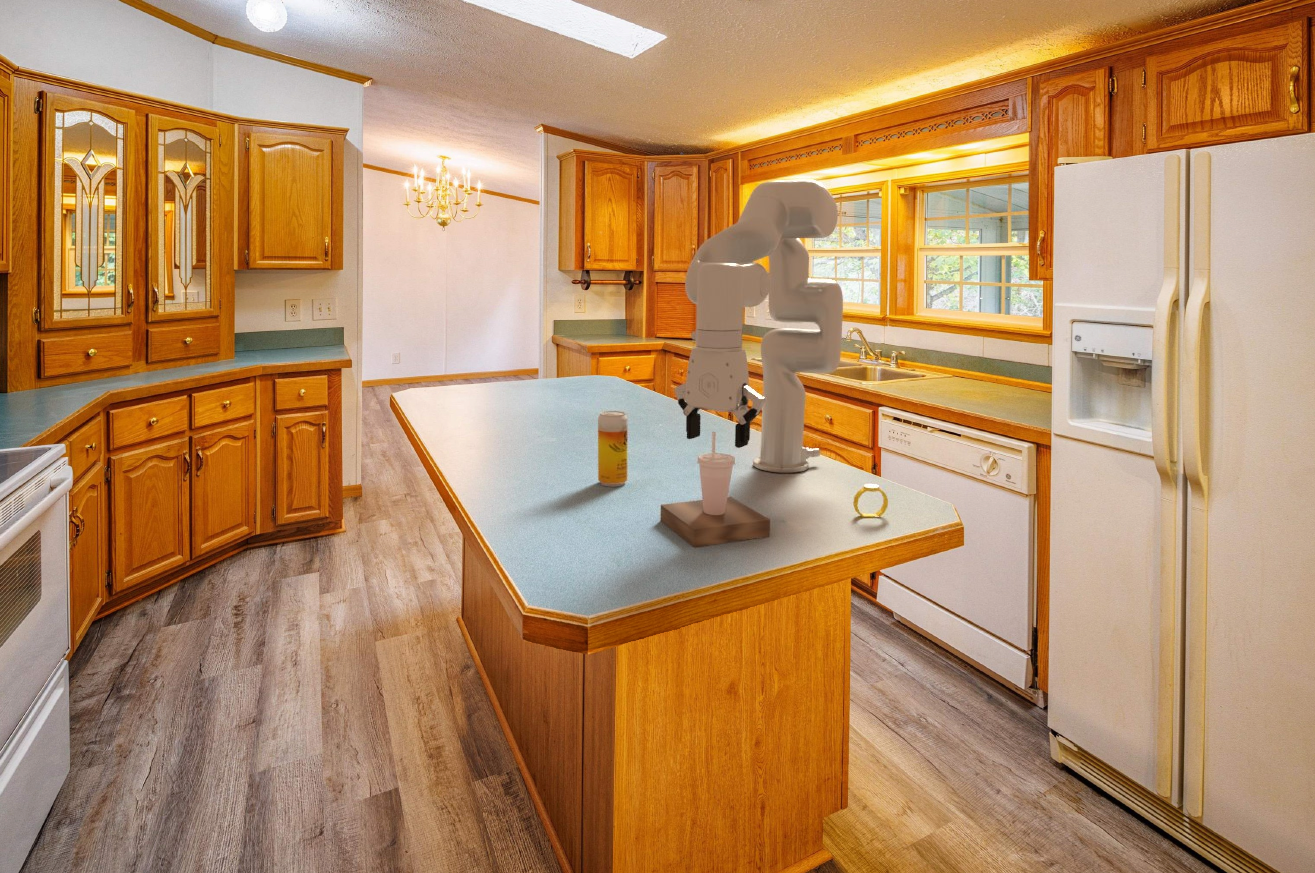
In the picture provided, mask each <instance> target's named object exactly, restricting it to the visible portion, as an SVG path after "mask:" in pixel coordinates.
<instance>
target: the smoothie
mask: <svg viewBox="0 0 1315 873" xmlns="http://www.w3.org/2000/svg"><path fill="white" fill-rule="evenodd" d="M711 433H712V434H711V452H707V453H702V454H699V455H698V456H697V462H696V463H697V464H698V465H699V474H700V475H699V476H700V486H701V487H700V488H701V498H702V499H701V500H703V511H704V513H706V514H709V515H722V514H724V513H725V509H726V503H727V497H729V491H730V485H731V478H732V474H733V473H732V472H733V466H735V465H736V462H735V460H736V458H735V457H734V455H731V454H727V453H723V452H722V453H719V452H716V434H717V433H716V431H712V432H711Z"/></svg>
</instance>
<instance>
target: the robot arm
mask: <svg viewBox="0 0 1315 873" xmlns="http://www.w3.org/2000/svg"><path fill="white" fill-rule="evenodd" d="M838 215H839V213H838V206H837V203H836V200H835V198H834V196H833V195H832V193H831V192H830V191H829V190H828V188H827V187H825V185H823V184H822V183H821V182H820V181H817V180H814V179H806V178H804V179H786V180H785V179H784V180H783V179H782V180H769V181H765V182H762V183H760V184H759V185H757V186H756V187H754V189H753V190H752V192H751V194H750V196H749V198H748V200H747V202H746V204H745V206H744V208H743V211H742V213H741V214H740V217H739V218H738V221H737V222H736V223H733V224H732V225H729V227H726V228H725V229H723V230H721V231H720V232H718V233H717V234H715V235H712V236H711V237H710V238H708V239H707V240H705V241H704V242H703V243H702V244H701V245H700V246H699V247H698V248H697V250H696V252H695V254H694V256H693V258H692V260H691V262H690V264H689V267H688V269H687V272H686V275H685V282H684V283H685V285H684V289H685V294H686V295H687V298H688V300H690V301H691V303H693V304H695V305H696V328H695V331H692V332H691V335H690V337H691V339H692V340H695V344H696V345H695V347H692V348H691V351H690V355H689V359H688V363H687V370H686V371H687V372H686V381H685V382H684V383H682V384H680V385H678V386H676V387H674V389H673V391H674V394H675V397H676V398H677V404H678V406H679V407H680V408H681V409H682V414H683V415H684V416H685V417H686V420H685V421H686V423H685V426H686V427H685V431H686V439H687V440H692V439H695V438H699V437H700V436H701V418H702V417H701V413H698V412H699V411H700V410H701V409H702V410H709V411H713V412H714V411H715V412H722V413H732V414H733V416H734V417H735V418H736V420H737V421H738V423H736V424H735V426H734V427H735V433H734V447H735V448H738V449H740V448H743V447H745V446H748V445H749V441H750V436H751V435H750V434H751V423H752V422H753V421H754V420H755V419H756V417H758V415H759V414H760V413H761V429H760V431H761V435H760V455H759V456H758V457H755V458H754V459H753V461H752V463H753V464H752V465H753V467H754V468H757V469H758V470H761V471H766V472H771V473H780V474H781V473H782V474H783V473H784V474H786V473H787V474H789V473H790V474H791V473H800V472H804V471H806V470H808V469H809V462H808V459H809V458H816V457H820V455H821V450H820V448H809V447H805V446H804V444H803V443H804V427H805V410H806V409H805V408H806V389H805V387H804V385H803V383H802V381H801V380H800V378H799V377H798V375H797V373H798V374H799V373H804V374H805V373H806V374H819V375H820V374H823V375H824V374H825V375H826V374H832V373H834V372H835V371H837V369H838V368H839V365H840V363H841V356H842V355H841V353H842V337H843V336H842V334H843V314H844V299H843V297H844V296H843V290H842V288H841V285H840V284H839V283H838V282H837V281H836V280H832V279H827V278H820V279H819V278H810V276H809V275H810V273H809V272H810V271H809V270H810V269H809V267H810V256H809V255H810V254H809V252H808V250H807V248H806V246H805V244H804V243H803V242H802V240H801V239H824V238H828V237H830V236H831V235H832V234H833V232H834V231H835V229H836V226H837V223H838V218H839V216H838ZM766 257H768V267H769V268H768V271H767V269H766V267H765V266H763V265H762V264H761V263H757V262H756V261H759V260H761V259H764V258H766ZM767 296H768V310H769V311H768V312H769V315H770V318H771V319H773V320H774V321H776V322H780V323H786V324H787V323H788V324H810V325H811V324H814V325H817V326H818V328H819V329H804V328H773V329H771V330H770V331H767V332H766V333H765V334H764V335H763V337H762V338H761V342H760V357H761V365H762V366H761V367H762V376H763V377H762V380H763V382H762V386H763V388H762V395H761V394H760V393H758V392H757V391H755V390H754V389H753V388H752V387H750V380H749V379H750V377H749V366H748V359H747V352H746V349H744V348H743V329H744V328H743V326H744V325H743V323H744V322H743V321H744V308H752V307H753V308H754V307H757V306H759V305H760V304H762V303H763V302H764V301H765V300H766V298H767ZM749 400H750V401H751V402H752V405H751V407H750V409H749V408H748V405H749Z"/></svg>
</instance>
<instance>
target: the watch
mask: <svg viewBox="0 0 1315 873" xmlns="http://www.w3.org/2000/svg"><path fill="white" fill-rule="evenodd" d="M867 492H870V493H871V492H874V493H876V492H879V493H881V496H882V497H883V499H882V500H883V504H882V506H881V508H880V509H879V510H878V511H877V512H876V513H862V512H860V509H859V506H858V504H859V499H860V498H861V496H862V495H863V494H864V493H867ZM888 506H889V498H888V495H887V494H886V492H885V491H883V490H882V489H880V485H878V484H876V483H865V484H864V485H863V487H862V488H861V489H859V490H858V491H857V492H856V493H855V495H854V498H853V507H854V510H855V512H856V513H857V514H858V515H859V516H860V517H861V518H863V517H869V518H876V517H875V516H880V517H881V516H882V515H884V514H885V513H886V511H887V509H888Z"/></svg>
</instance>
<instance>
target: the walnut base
mask: <svg viewBox="0 0 1315 873" xmlns="http://www.w3.org/2000/svg"><path fill="white" fill-rule="evenodd" d="M660 522H661V523H662V524H664V526H665V525H666V527H668V528H669V529H670V530H672V532H674V533H675V534H677V535H678V536H679V537H680V538H682V539H683V540H684V541H685V542H687V543H688V544H689V545H690V546H692V547H693V548H699V547H704V546H706V547H707V546H712V545H719V544H720V545H721V544H728V543H733V542H732V541H735V542H741V541H740V540H742V541H747V540H746V539H750V540H754V539H753V538H757V539H761V538H760V537H764V538H770V537H769V536H770V535H771V533H770V532H771V531H770V530H771V519H770V518H769V517H767V516H765V515H763V514H762V513H760V512H758V511H756V510H754V509H752V508H751V507H749V506H748V505H746V504H744V503H743V502H741V501H739V500H738V499H736V498H734V497H732V496H728V497H727V503H726V509H725V513H724V514H722V515H709V514H706V513H704V511H703V500H702V499H698V500H690V501H683V502H682V501H681V502H672V503H664V504H662V503H661V504H660ZM727 542H728V543H727Z"/></svg>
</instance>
